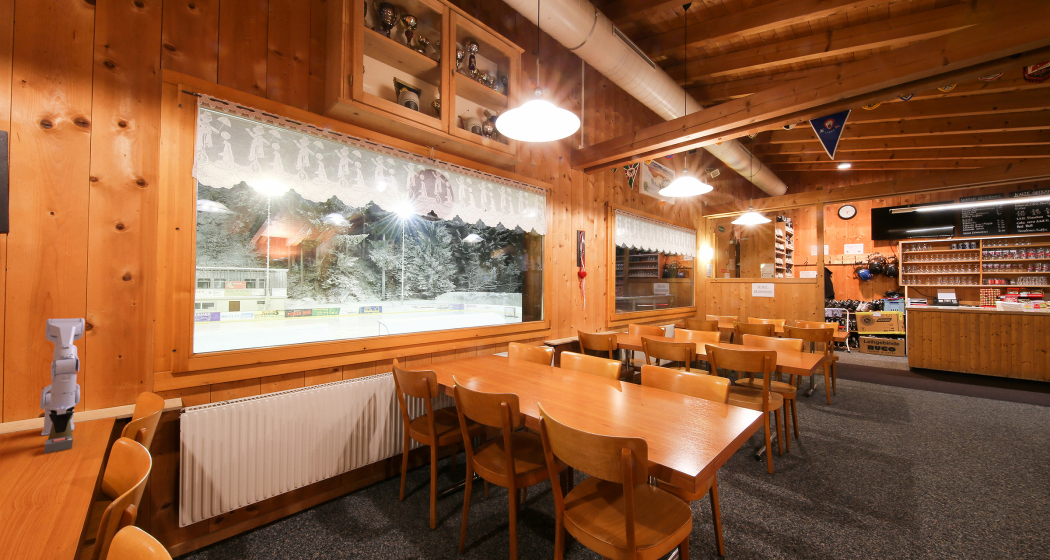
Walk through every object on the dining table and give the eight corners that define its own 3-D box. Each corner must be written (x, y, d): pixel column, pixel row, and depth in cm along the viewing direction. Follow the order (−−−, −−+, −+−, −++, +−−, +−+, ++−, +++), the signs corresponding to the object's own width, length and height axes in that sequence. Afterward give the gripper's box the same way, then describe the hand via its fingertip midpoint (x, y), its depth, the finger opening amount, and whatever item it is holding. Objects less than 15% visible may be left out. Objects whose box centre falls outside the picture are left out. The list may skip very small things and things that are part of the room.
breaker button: (53, 445, 131) (53, 439, 131) (65, 443, 133) (65, 437, 133) (52, 447, 129) (53, 441, 129) (64, 445, 131) (65, 439, 131)
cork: (77, 440, 139) (80, 409, 139) (56, 446, 133) (58, 414, 133) (63, 439, 140) (65, 409, 140) (41, 445, 134) (43, 414, 134)
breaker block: (45, 448, 131) (46, 439, 131) (72, 444, 135) (73, 434, 135) (44, 453, 127) (44, 443, 127) (72, 448, 131) (72, 439, 131)
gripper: (47, 390, 139) (44, 428, 138) (44, 398, 129) (41, 438, 129) (76, 387, 144) (74, 423, 143) (76, 394, 135) (73, 432, 134)
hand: (60, 430), depth 136 cm, fingers closed on cork, 5 cm apart
